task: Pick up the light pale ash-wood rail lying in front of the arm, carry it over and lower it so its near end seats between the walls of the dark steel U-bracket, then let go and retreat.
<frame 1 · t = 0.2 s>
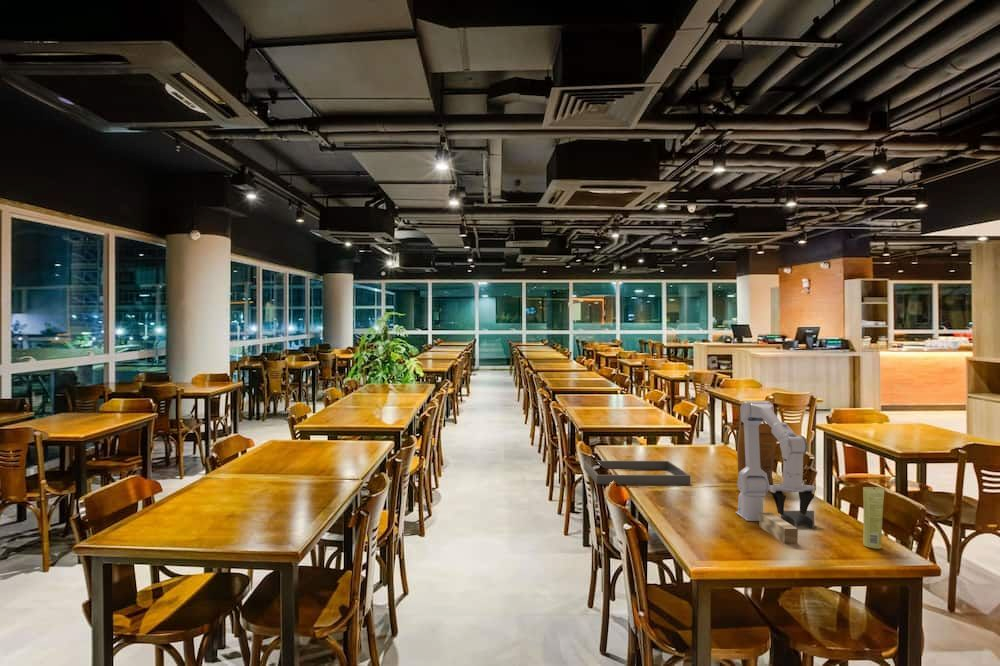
hand: (791, 513, 186), 10 cm above the table, fingers open, 7 cm apart
bracket: (800, 526, 202), on the table
rail: (777, 534, 194), on the table
paper frame: (634, 476, 268), on the table
tube: (872, 547, 185), on the table
pancake mix bag: (756, 484, 258), on the table
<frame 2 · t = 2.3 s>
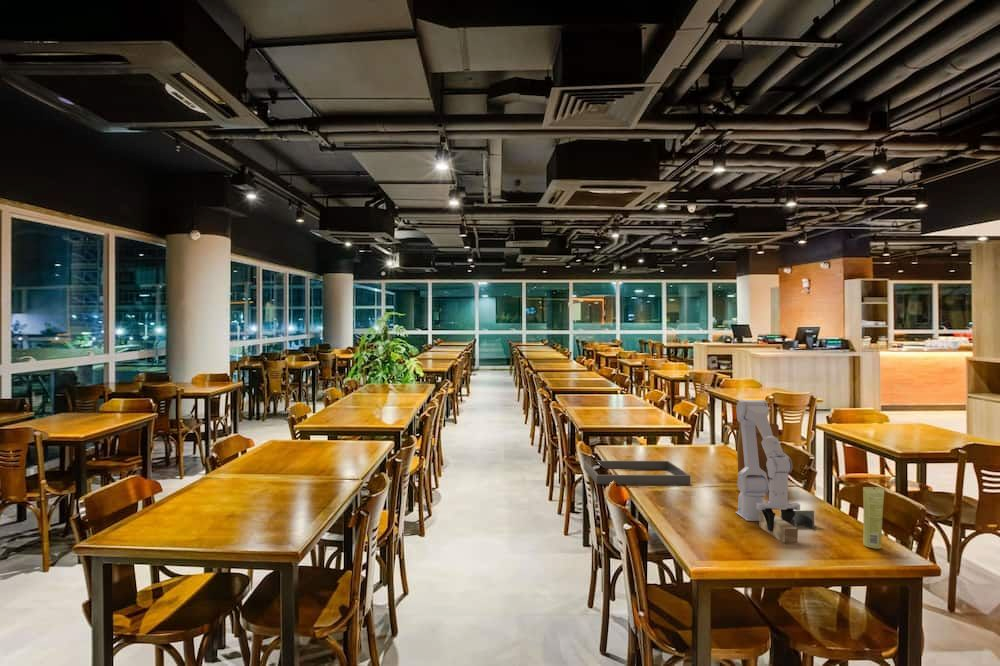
hand: (777, 530, 194), 1 cm above the table, fingers closed on rail, 4 cm apart
rail: (777, 534, 194), on the table, touching gripper
everything else where it was.
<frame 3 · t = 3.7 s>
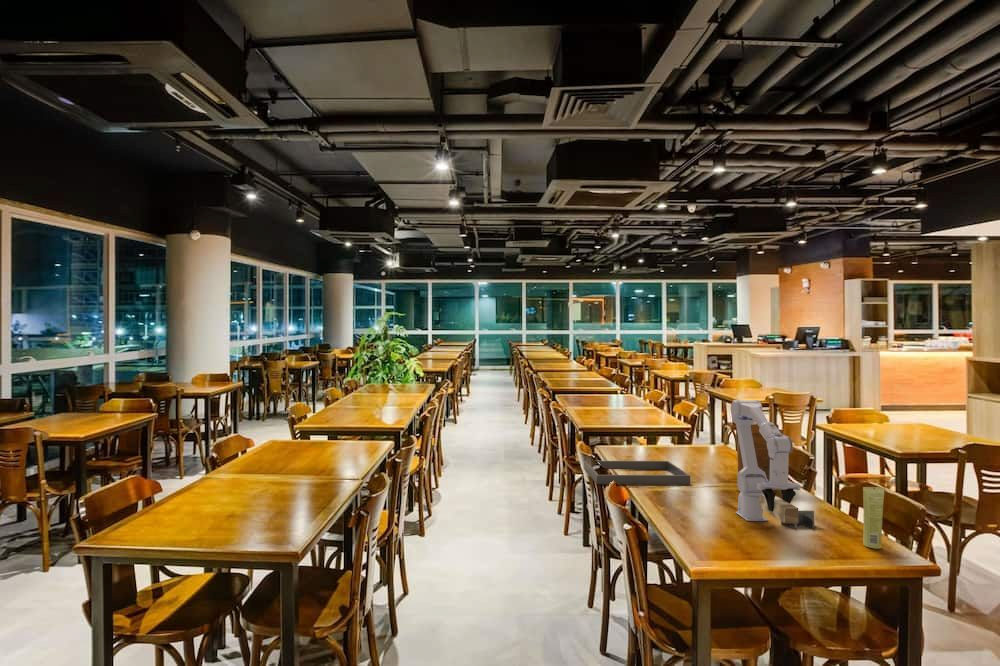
hand: (777, 510, 194), 8 cm above the table, fingers closed on rail, 4 cm apart
rail: (777, 515, 194), point 7 cm above the table, touching gripper
everything else where it was.
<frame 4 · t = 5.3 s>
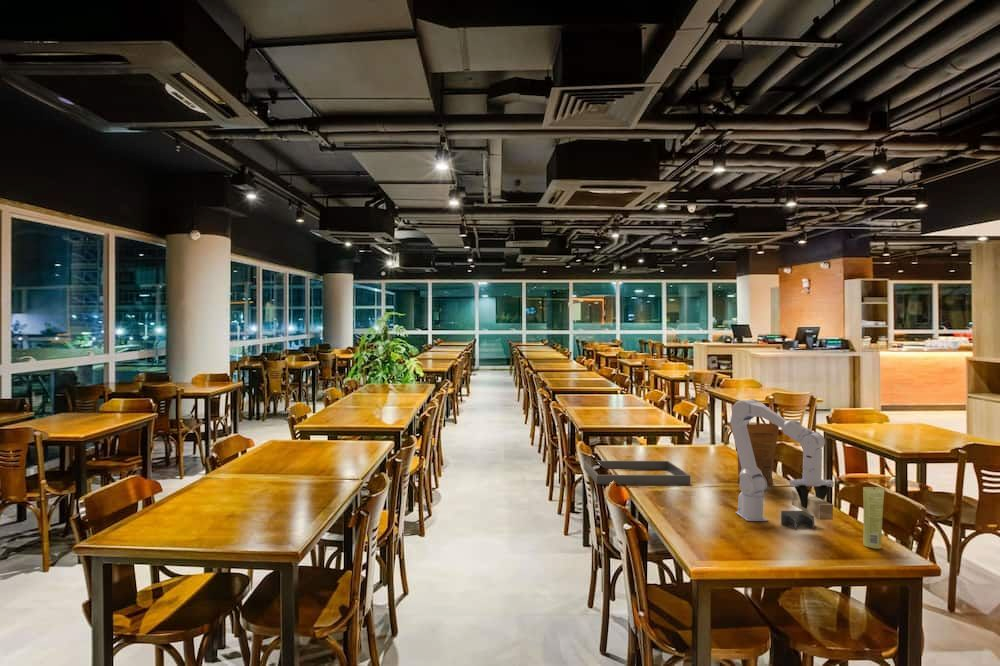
hand: (811, 507, 195), 9 cm above the table, fingers closed on rail, 4 cm apart
rail: (811, 511, 194), point 8 cm above the table, touching gripper
everything else where it was.
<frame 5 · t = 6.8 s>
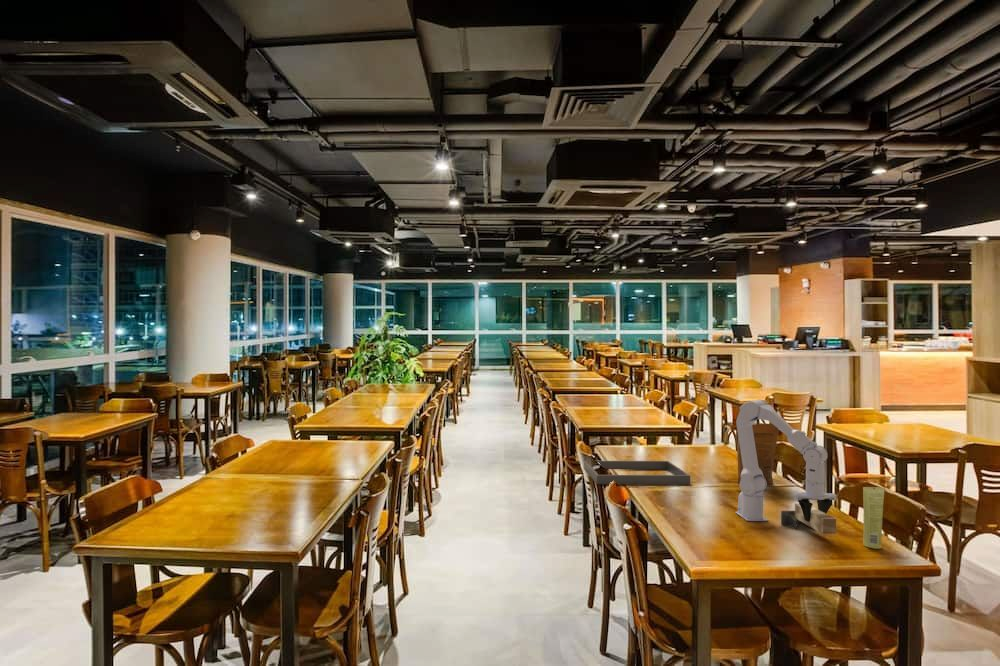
hand: (814, 520, 195), 5 cm above the table, fingers closed on rail, 4 cm apart
rail: (814, 525, 195), point 3 cm above the table, touching gripper
everything else where it was.
when the fingers open (3 cm above the table, at t = 8.2 s): rail drops 1 cm, on the table.
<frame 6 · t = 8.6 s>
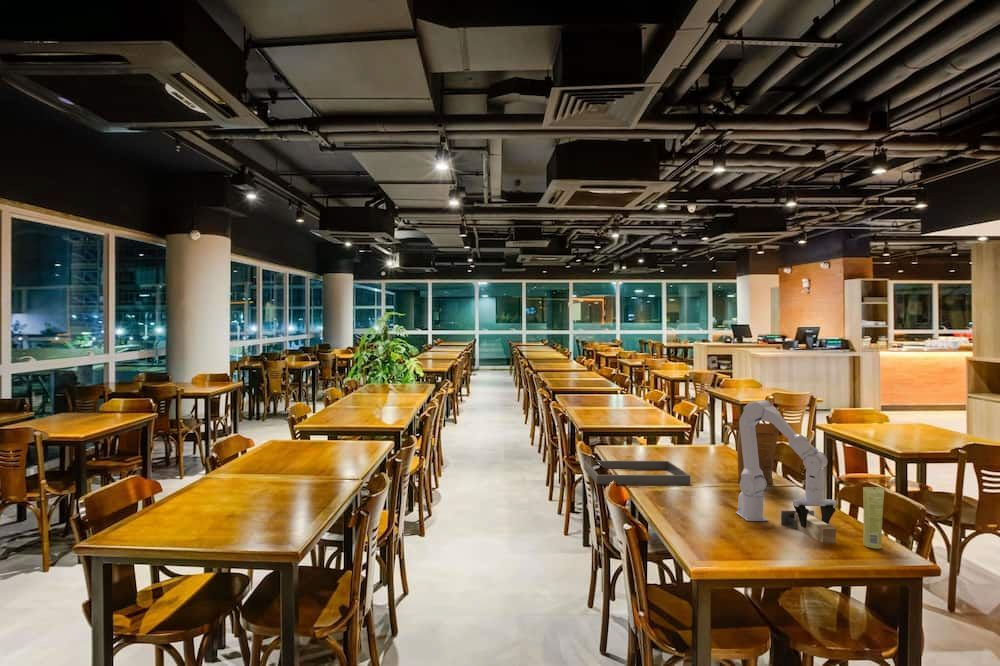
hand: (814, 526, 195), 3 cm above the table, fingers open, 7 cm apart
rail: (814, 534, 195), on the table
everything else where it was.
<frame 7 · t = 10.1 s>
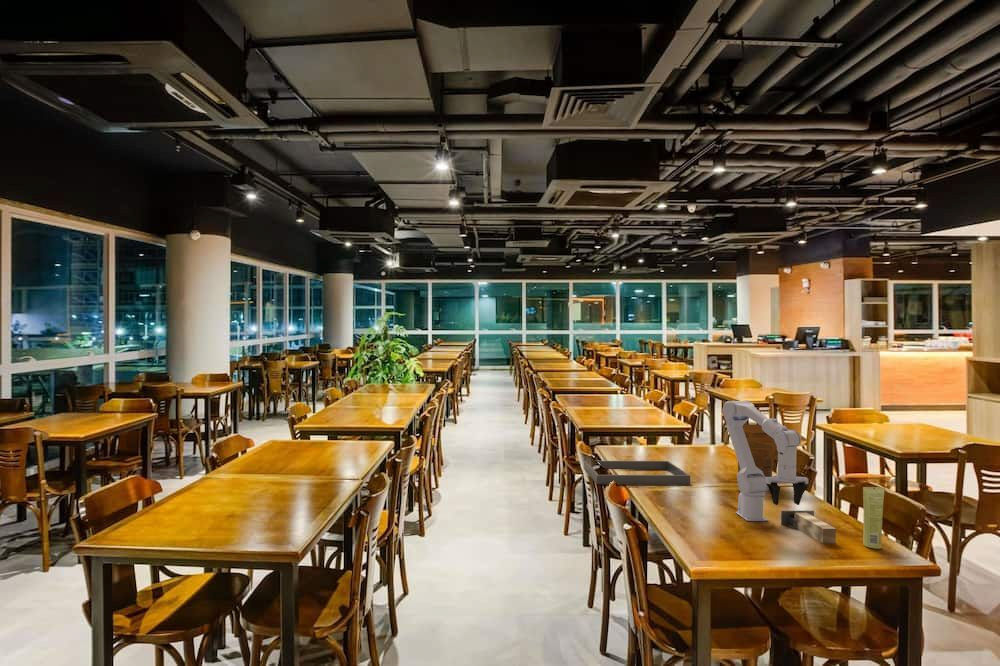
hand: (786, 504, 196), 10 cm above the table, fingers open, 7 cm apart
nothing on the table moved.
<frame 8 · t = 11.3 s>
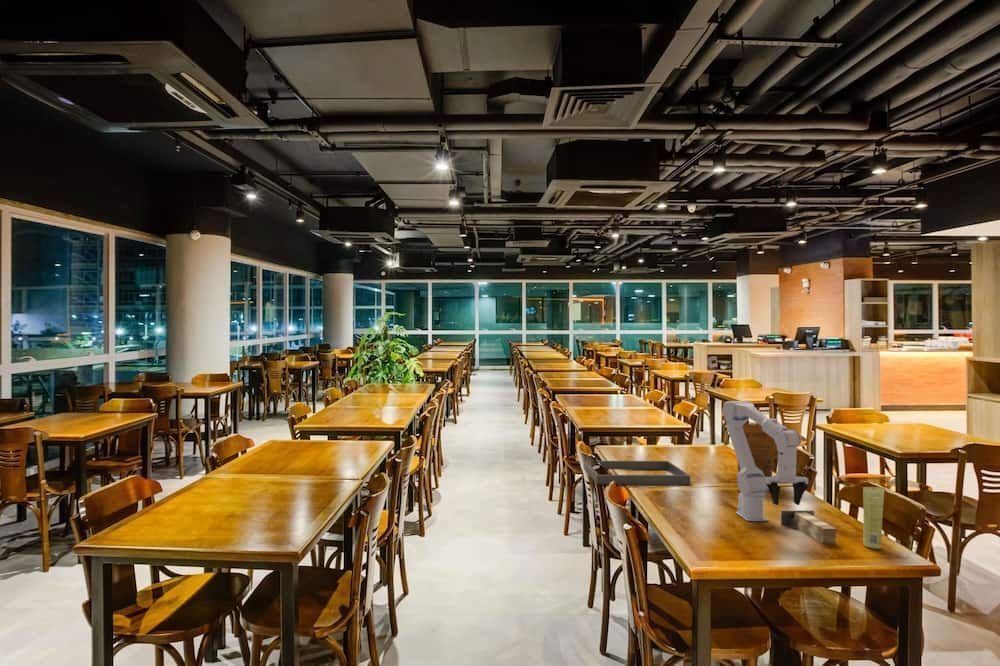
hand: (786, 504, 196), 10 cm above the table, fingers open, 7 cm apart
nothing on the table moved.
at the end: rail 0.1 cm from the target spot, on the table; rail tilted 0°; the gripper is holding nothing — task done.
